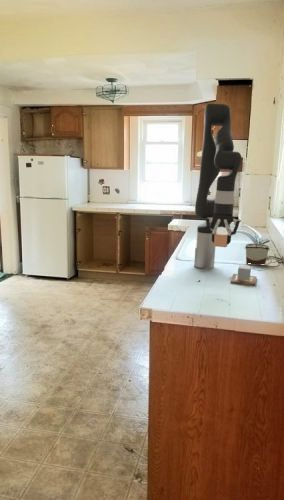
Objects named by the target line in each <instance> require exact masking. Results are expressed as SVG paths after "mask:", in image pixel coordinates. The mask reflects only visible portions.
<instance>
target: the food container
mask: <svg viewBox="0 0 284 500" xmlns="http://www.w3.org/2000/svg"><path fill="white" fill-rule="evenodd" d="M244 249H245V264H246V265H249V264H248V263H251V264H265V265H266V264H267V258H268V253H269V251H271V250H270V246H269V245H267V244H262V243H247V244H245V246H244Z"/></svg>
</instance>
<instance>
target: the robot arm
mask: <svg viewBox="0 0 284 500" xmlns="http://www.w3.org/2000/svg"><path fill="white" fill-rule="evenodd" d="M203 117H204V118H203V137H202V138H203V140H202V149H201V156H200V168H199V169H200V170H199V180H198V188H197V193H196V200H195V205H194V212H195V216H196V217H197V218H198V219H205V221H204V222H203V223H201V224H199V225H198V226H197V229H196V246H195V250H194V262H193V265H194V267H195V268H198V269H203V270H204V269H205V270H206V269H207V270H209V269H213V268H215V261H216V260H215V258H216V247H217V246H214V237H215V233H216V232H218V231H217V230H218V228H225V229H226V233H228V236H227V244H228V245H229V244H231V241H232V236H233V235H236V233H237V231H238V228H239V225H240V222H241V220H240V219H236V218H234V216H233V215H234V206H235V205H234V204H235V187H236V186H235V185H236V180H237V179H236V178H237V176H238V172H239V170H240V167H241V164H242V160H243V159H242V155H241V153H240V152H239V151H234V149H235V146H234V140H233V136H232V113H231V107H230V105H228V104H225V103H207V104H206V106H205V109H204V115H203ZM212 126H213V127H214V126H215V127H220V129H218V130H217V132H216V135H215V137H214V135H213V131H212V130H213V129H212ZM221 170H230V171H229V173H227V174H223V175H220V176H219V174H220V172H221ZM216 179H217V180H216ZM215 180H216V190H215V194H214V195H215V196H214V197H215V198H208V194H209V192H210V188H211V187H212V185H213V183H214V182H215ZM232 222H233V225H234V228H233V230H232V229H231V226H230V225H231V224H232Z"/></svg>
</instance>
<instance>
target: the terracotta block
mask: <svg viewBox="0 0 284 500" xmlns="http://www.w3.org/2000/svg"><path fill="white" fill-rule="evenodd" d="M227 236H228V232H218V231H217V232H216V233H215V237H214V246H216V247H217V248H218V247H219V248H227V247H228V245H229V244H227Z"/></svg>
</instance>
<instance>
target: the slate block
mask: <svg viewBox="0 0 284 500" xmlns="http://www.w3.org/2000/svg"><path fill="white" fill-rule="evenodd" d="M251 271H252V266H249V265H239V266H238V268H237V274H238V278H237V279H239V280H248V281H249V280H250V276H251V273H252V272H251Z"/></svg>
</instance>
